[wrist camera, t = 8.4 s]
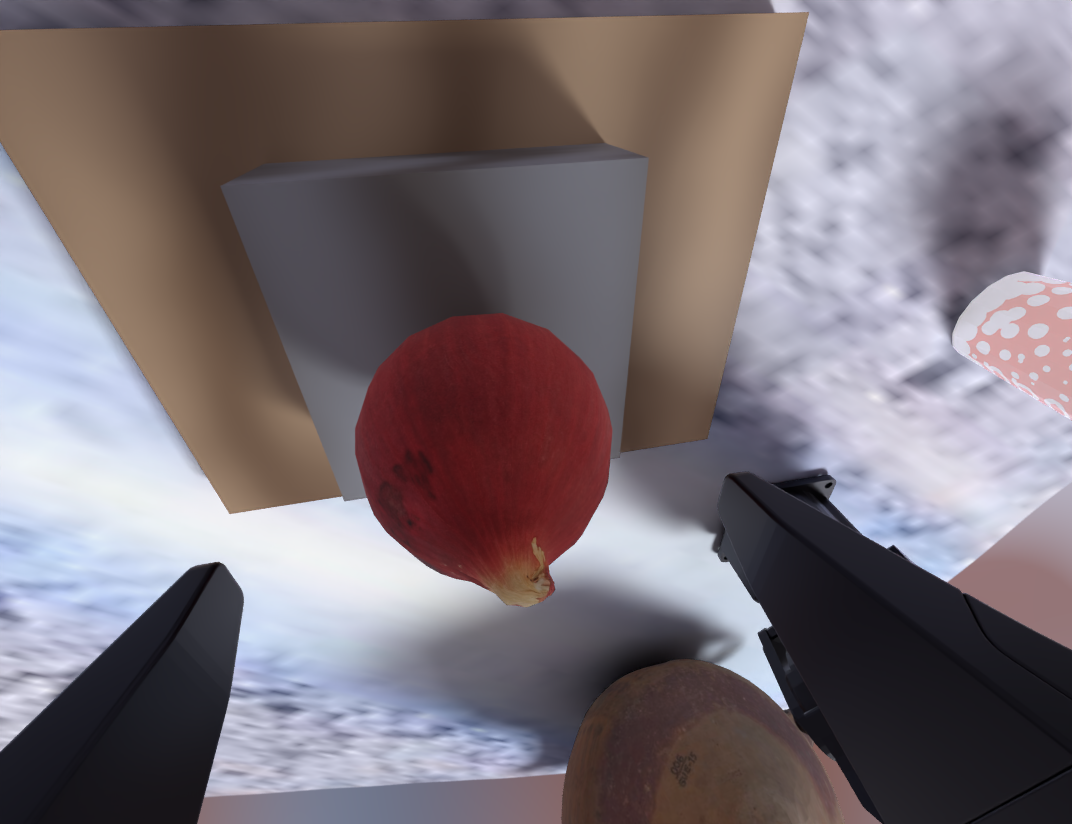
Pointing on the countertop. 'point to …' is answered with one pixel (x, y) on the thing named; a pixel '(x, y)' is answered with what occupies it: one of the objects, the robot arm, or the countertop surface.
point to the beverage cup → (1023, 336)
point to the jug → (693, 754)
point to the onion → (485, 451)
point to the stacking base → (384, 94)
